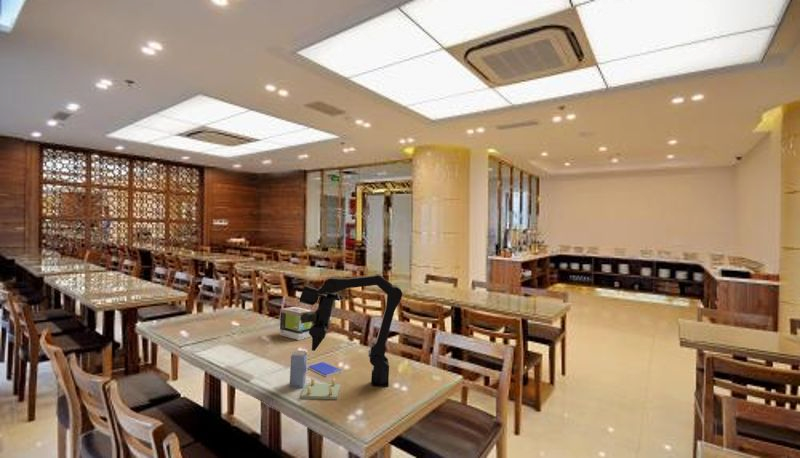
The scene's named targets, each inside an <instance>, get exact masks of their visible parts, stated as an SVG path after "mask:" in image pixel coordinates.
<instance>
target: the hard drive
mask: <svg viewBox="0 0 800 458" xmlns="http://www.w3.org/2000/svg"><path fill="white" fill-rule="evenodd" d="M307 368H308V370H310V371H312V372H314V373H317V374H319V375H321V376H324V377H325V378H327V377H330V376H333V375H336V374H339V373H342V369H341V368H338V367H336V366H334V365H331V364H329V363H326V362H324V361H321V362H318V363H315V364H311V365H309V366H307Z"/></svg>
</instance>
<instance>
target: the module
mask: <svg viewBox="0 0 800 458" xmlns="http://www.w3.org/2000/svg"><path fill="white" fill-rule="evenodd" d="M307 355H308V352H307V351H306V350H294V351H293V352H292V353H291V355H290V371H289V389H290V388H296V389H297V388H298V389H299V388H300V389H304V387H305V385H306V384H305V383H306V378H307V377H306V375H307V359H308V357H307Z"/></svg>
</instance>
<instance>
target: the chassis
mask: <svg viewBox="0 0 800 458" xmlns="http://www.w3.org/2000/svg"><path fill="white" fill-rule="evenodd" d="M310 381H311V382H309V383H308V382H305V383H306V384H305V385H304V387H303V390H302V392H301V395H300V399H302V400H303V399H307V400H309V399H310V400H338V397H339V393H340V391H341V390H340V389H341V383H336V378H331V383H319V382H318V383H316V382H315V377H312V378H311V380H310Z"/></svg>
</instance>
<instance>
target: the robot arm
mask: <svg viewBox="0 0 800 458" xmlns="http://www.w3.org/2000/svg"><path fill="white" fill-rule="evenodd" d="M371 286H376V287H378V288H379V289H380V290H381V291H382V292H384V293H385V294H386V298H385V300H386V301H385V309H384V312H383V316H382V319H381V322H380V326H379V330H378V333H377V337H376V340H375V342H370V347H369V350H368V358H369V363H370V364H371V365H372V367H373V369H371V380H370V382H371V385H372V387H389V386H390V383H389V382H390V380H389V377H390V363H389V358H387V357H386V343H387V339H388V336H389V333H390V328H391V326H392V321H393V318H394V315H395V311H396V309H397V308H398V306H399V304H400V302H401V299H402V298H403V291H402V288H400V286H399V285H398V284H392V283H391V282H390V281H388V280H387V279H386V278H384V277H383V276H382V275H381V274H374V275H365V276H364V275H363V276H355V277H341V276H329V277H327V278H326V279H325V280H324V282H323V284H322V286H319V288H315V287H312V286H309V285H304V286H303V289H302V292H301V294H300V296H299V300H298V301H299V303H301V304H305V305H309V306H314V305H318V306H317V309H316V310H315V311H312V312H305V313H301V315H300V320H301V323H305V322H312V326H311V327H310V330H309V335H311V337H310V338H311V351H312V352H313V351H314V352H315V351H316V350H317V348H318V347H319V346H320V345H321V343H322V342H323V340H324V339H325V338H326V336H327V331H328V329H329V327H330V324H331V316H332V313H333V308H334V306H335V305H334V304H335V301H338V302H339V301H340V300H341V297H340V295H339V293H338V292H340V291H344V290H346V289H352V288H353V289H354V288H361V287H363V288H364V287H371ZM326 293H327V294H326Z"/></svg>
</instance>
